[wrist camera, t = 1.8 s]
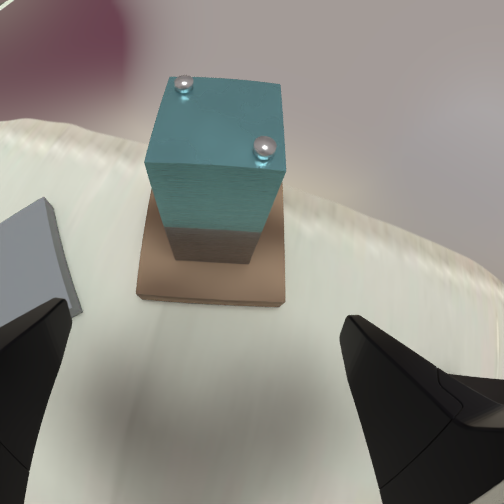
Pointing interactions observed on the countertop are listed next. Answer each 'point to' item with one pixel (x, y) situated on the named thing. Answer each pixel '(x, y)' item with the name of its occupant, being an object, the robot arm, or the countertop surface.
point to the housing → (216, 165)
